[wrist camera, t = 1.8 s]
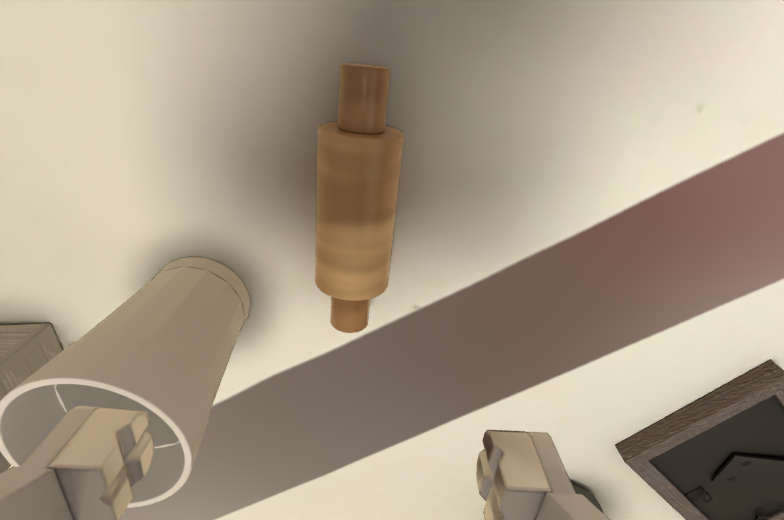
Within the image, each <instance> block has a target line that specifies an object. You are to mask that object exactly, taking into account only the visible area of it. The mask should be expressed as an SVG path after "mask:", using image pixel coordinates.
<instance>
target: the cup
mask: <svg viewBox="0 0 784 520" xmlns="http://www.w3.org/2000/svg"><path fill="white" fill-rule="evenodd" d="M249 310H250V297H249V294H248V291H247V289H246V287H245V285H244V283H243V282H242V280H241V279H240V278H239V277H238V276H237V275H236V274H235V273H234V272H233V271H232V270H230V269H229V268H228V267H226V266H224V265H223V264H221V263H219V262H216V261H213V260H210V259H207V258H201V257H186V258H181V259H177V260H175V261H172V262H171V263H169V264H167V265H166V266H165V267H164V268H163V269H162V270H161V271H160V272H159V273H158V274H157V275H156V276H155V277H154V278H153V279H152V280H151V281H150V282H149V283H148V284H147V285H145V286H144V287H143V288H142V289H141V290H139V291H138V292H137V293H136V294H134V295H133V296H132V297H131V298H129V299H128V300H127V301H126V302H125V303H123V304H122V305H121V306H120V307H118V308H117V309H116V310H115V311H114V312H112V313H111V314H110V315H109V316H107V317H106V318H105V319H104V320H103V321H101V322H100V323H99V324H98V325H96V326H95V327H94V328H93V329H91V330H90V331H89V332H88V333H87V334H85V335H84V336H83V337H82V338H80V339H79V340H78V341H76V342H74V343H72V344H71V345H69V346H68V347H67V348H65V349H64V350H63V351H62V352H60V353H59V354H58V355H56V356H55V357H54V358H53V359H51V360H50V361H49V362H48V363H46V364H45V365H44V366H42V367H41V368H40V369H39V370H37V371H36V372H35V373H33V374H32V375H31V376H30V377H28V378H27V379H26V380H25V381H23V382H22V383H21V384H19V385H18V386H17V387H16V388H14V389H13V390H12V391H10V392H9V393H8V394H7V395H6V396H5V397H4V398H3V399H2V400H1V401H0V451H1V453H2V454H3V456H4V457H5V458H6V460H7V461H8V462H9V463H10V464H11V465H12V466H13V467H20V466H21V465H22V464H23V463H24V462H25V460H26V459H27V458H28V457H29V456H30V455H31V454H32V453H33V451H34V450H35V449H36V448H37V447H38V446H39V445H40V443H41V442H42V441H43V440H44V439H45V438H46V437H47V435H48V434H49V433H50V432H51V431H52V430H53V429H54V428H55V426H56V425H57V424H58V423H59V422H60V421H61V420H62V418H63V417H64V416H65V415H66V414H67V413H68V412H69V411H70V410H71V409H73V408H75V407H77V406H88V407H104V408H116V409H128V410H140V411H146V412H147V413H148V416H149V420H150V423H149V425H148V426H147V428H146V430H147V431H148V432H149V433H151V434H152V435H153V438H154V454H153V458H152V461H151V464H150V467H149V469H148V471H147V473H146V474H145V476H144V478H143V479H141V480H140V481H139V482H137V483H136V484H134V485H133V486H132V492H133V498H132V499H131V501H130V503H129V505H128V506H127V508H131V507H139V506H145V505H149V504H153V503H155V502H159V501H161V500H163V499H165V498H167V497H169V496H171V495H172V494H174V493H175V492H177V491H178V490H179V489H180V488H181V487H182V486H183V485H184V483H185V482H186V480H187V479H188V477H189V475H190V472H191V469H192V466H193V463H194V460H195V457H196V454H197V452H198V449H199V446H200V443H201V440H202V437H203V434H204V431H205V429H206V426H207V423H208V420H209V417H210V414H211V408H212V404H213V401H214V399H215V396H216V393H217V391H218V388H219V385H220V383H221V380H222V377H223V375H224V372H225V369H226V366H227V364H228V361H229V358H230V356H231V353H232V350H233V348H234V345H235V342H236V339H237V337H238V334H239V332H240V330H241V328H242V326H243V324H244V322H245V320H246V318H247V316H248V314H249Z"/></svg>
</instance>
